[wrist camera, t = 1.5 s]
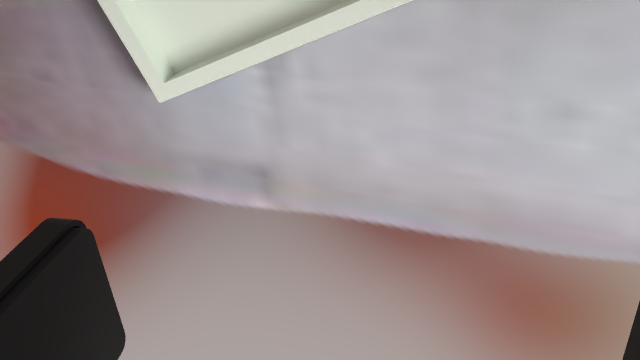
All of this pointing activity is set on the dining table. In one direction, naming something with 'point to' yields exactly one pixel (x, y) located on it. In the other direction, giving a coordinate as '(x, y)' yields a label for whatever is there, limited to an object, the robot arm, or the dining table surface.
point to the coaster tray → (223, 34)
